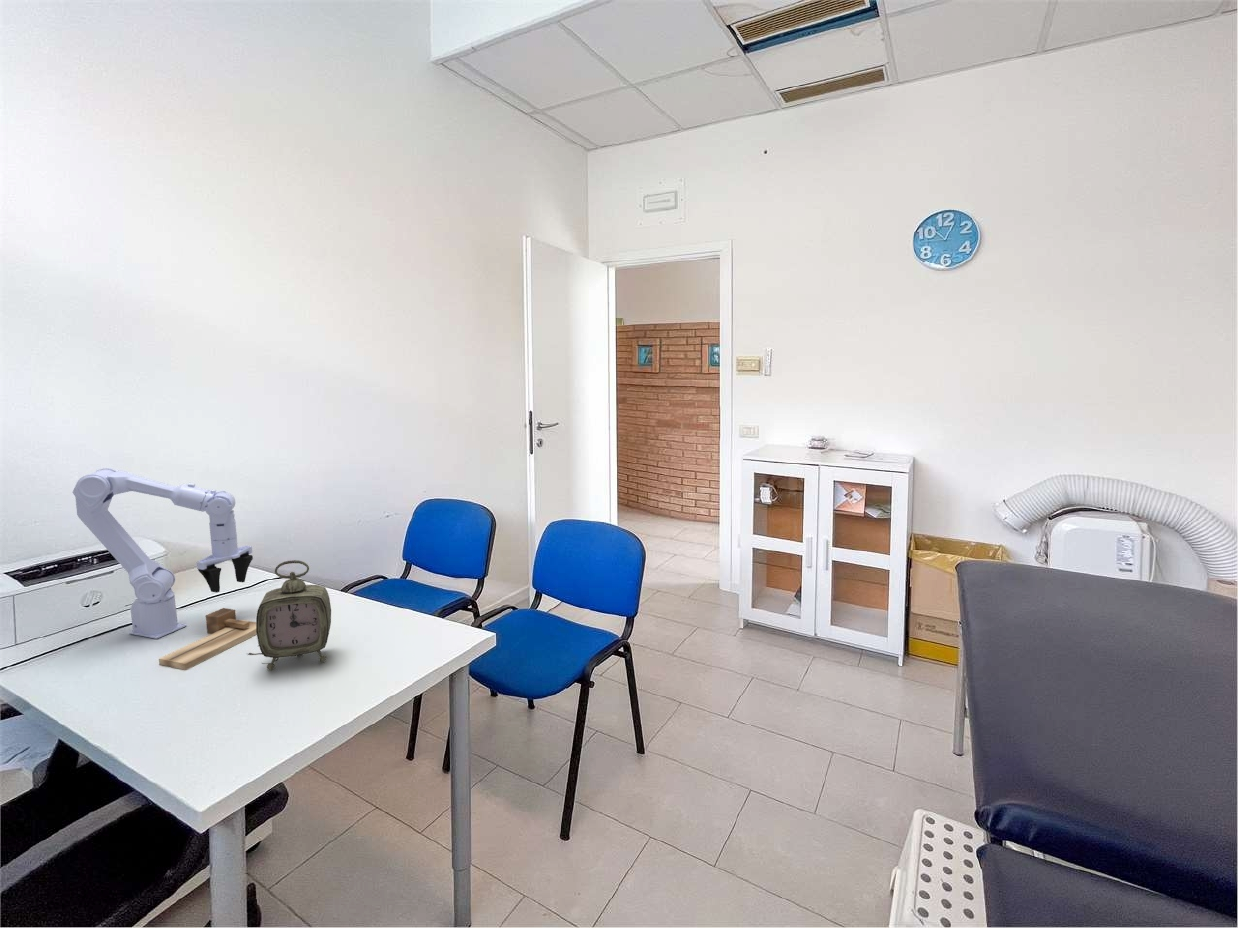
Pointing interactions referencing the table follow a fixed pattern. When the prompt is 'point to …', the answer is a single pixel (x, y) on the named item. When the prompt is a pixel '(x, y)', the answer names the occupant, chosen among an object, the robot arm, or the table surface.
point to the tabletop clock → (293, 618)
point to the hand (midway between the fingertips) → (228, 586)
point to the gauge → (223, 620)
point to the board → (208, 647)
